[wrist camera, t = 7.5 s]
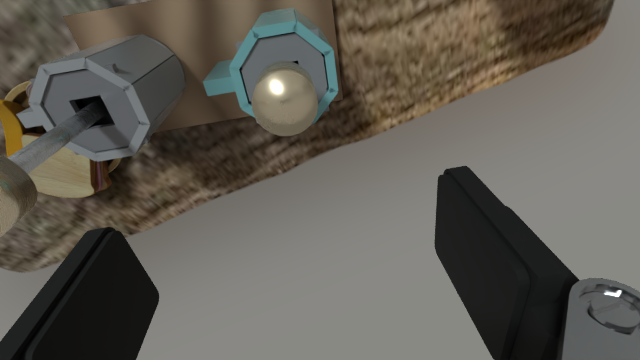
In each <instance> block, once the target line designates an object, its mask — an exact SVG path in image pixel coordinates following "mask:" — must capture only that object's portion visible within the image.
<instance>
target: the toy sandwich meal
mask: <svg viewBox="0 0 640 360" xmlns="http://www.w3.org/2000/svg"><path fill="white" fill-rule="evenodd" d="M32 88H33V85H32V83H31V82H30V81H27V82H24V83H22V84H20V85H18V86H16V87H15V88H13V89H12V90H11V91H10V92H9V93H8V95H7V96H6V98H5V100H3V99H0V118H1V121H2V124H3V127H4V132H5V139H6V150H7V157H10V156H11V155H13V154H14V153H16V152H17V151H19V150H20V149H22V148H23V147H25V146H26V145H28V144H29V143H31V142H33V141H34V140H36V139H37V138H39V137H40V136H42V135H43V134H45V133H46V132H47V131H46V130H45V128H44V127H43V125H41V126H35V127H30V128H25V127H24V125H23V124H22V122H21V121H20V119H19V118H18V116H17V115H16V114H18V113H20V112H22V111H24V110H26V109H27V108H29V107H30V105H29V103H30V102H28V101H29V98H30V94H31V91H32ZM121 159H122V158H116V159H110V160H104V161H99V162H97V161H93V160H91V159H89V158H87V157H85V156H83V155H81V154H80V155H76V154H75V153H74V151H72V150H70V149H68V148H65V147H62V148H61V149H60V150H59V151H57V152H56V153H55V154H53V155H52V156H51V157H49V158H48V159H47V160H45V161H44V162H43V163H42V164H40V165H39V166H38V167H36V168H35V169H34V170H32V171H31V172H30V173H28V175H29V176H30V177H31V179H32V180H33V182H34V184H35V186H36V189H37V191H38V192H41V193H44V194H48V195H52V196H57V197H66V198H82V197H87V196H90V195H93V194H95V192H99V191H103V190H105V189H107V188H108V187H110V186H111V184H112V181H111V179H110V178H109V175H108V173H110V172H111V171H113V170H114V169H115V168H116V167H117V166H118V164H119V163H120V161H121Z"/></svg>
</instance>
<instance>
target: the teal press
mask: <svg viewBox="0 0 640 360" xmlns="http://www.w3.org/2000/svg"><path fill="white" fill-rule="evenodd" d="M235 44H236V48H237V54H236V55H235V57H234V59H232V60H227V61H221V62H218V63H217V64H216V65H215V67H214V68H213V69H212V71H211V72H210V73H209V74H208V76H207V77H206V78H205V79H204V81H203V84H204V87H205V90H206V93H207V96H213V95H218V94H224V93H230V92H235V91H236V95H237V98H238V102H239V105H240V108H242V109H241V110H243V111H245V112H246V113H248V114H249V115H251V116H253V117H254V118H255V116H254V114H253V110H252V97H253V93H254V89H255V86H256V82H257V79H258V77H259V75H260V73H261V72H262V71H263V70H264V69H265V68H266V67H267V66H269V65H270V64H272V63H275V62H278V61H290V62H292V61H298V63H299V65H300V66H302V67H303V68H304V69H305V70H306V71H307V72H308V73H309V75H310V76H311V78H312V81H313V84H314V88H315V91H316V95H317V100H318V110H317V114H316V117H315V119H314V121H313V122H314V123H315V122H316V121H317V120H318V118H319V117H320V116H321V115H322V113H323V112H326V111H329V104H330V103H331V101H332V100H333V99H334V97H335V96H336V95H337V93H338V83H337V75H336V67H335V58H334V50H333V48H332V47H331V45H330V43H329V42H328V40H327V39H326V37H325V36H324V34H323V33H322V31H321V29H320V28H319V27H318V26H316V25H315V24H314V23H313V22H311V21H310V20H309V19H308V18H307V17H306V16H304V15H303V14H301V13H300V12H299V11H298V10H296V9H295V8H294V9H293V8H288V9H278V10H274V11H271V12H265V13H262V14H260V16H259V17H258V19H257V20H256V22H255V23H254V25H253V26H252V28H251V29H250V31H249V33H248V35H247V36H246V38H245V40H244V41H239V42H236V43H235ZM255 119H256V118H255ZM256 122H257V120H256ZM313 122H312V124H314V123H313ZM257 124H258V122H257Z"/></svg>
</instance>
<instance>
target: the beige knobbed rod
mask: <svg viewBox="0 0 640 360" xmlns="http://www.w3.org/2000/svg"><path fill="white" fill-rule="evenodd" d="M74 101H75V103H76V104H77V106H78V108H79V110H80V111H79V112H77V113H75V114H74V115H72V116H71V117H69V118H68V119H66V120H65V121H63V122H62V123H60V124H59V125H57V126H56V127H54V128H52V129H51V130H49V131H48V132H46V133H45V134H43V135H42V136H40V137H39V138H37V139H36V140H34V141H33V142H31V143H29V144H28V145H26V146H25V147H23V148H22V149H20V150H19V151H17V152H16V153H14V154H13V155H11V156H10V157H8V158H6V157H4V156H2V155H0V237H1V236H2V235H4V234H5V233H6V232H7V231H8V230H9V229H10V228H11V227H12V226H13V225H14V224H16V223H17V222H18V221H19V220H20V219H21V218H22V217H23V216H24V215H25V214H26V213H28V212H29V211H30V210H31V209H32V208H33V207H34V206H35V204H36V202H37V196H38V194H37V189H36V186H35V184H34V182H33V180H32V179H31V177H30V176H29V175H28V173H30V172H31V171H32V170H34V169H35V168H36V167H38V166H39V165H40V164H42V163H43V162H44V161H45V160H47V159H48V158H49V157H51V156H52V155H53V154H55V153H56V152H57V151H59V150H60V149H61V148H62V147H64V146H65V145H66V144H68V143H69V142H70V141H72V140H73V139H74V138H75V137H77V136H78V135H79V134H81V133H82V132H83V131H85V130H86V129H87V128H89V127H90V126H91V125H92V126H99V125H104V124H110V123H114V121H113V119H112V117H111V115H110V113H109V111H108V109H107V108H106V106H105V104H104V102H103V100H102V98H101V96H100V95H98V96H93V97H87V98H81V99H76V100H74Z"/></svg>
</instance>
